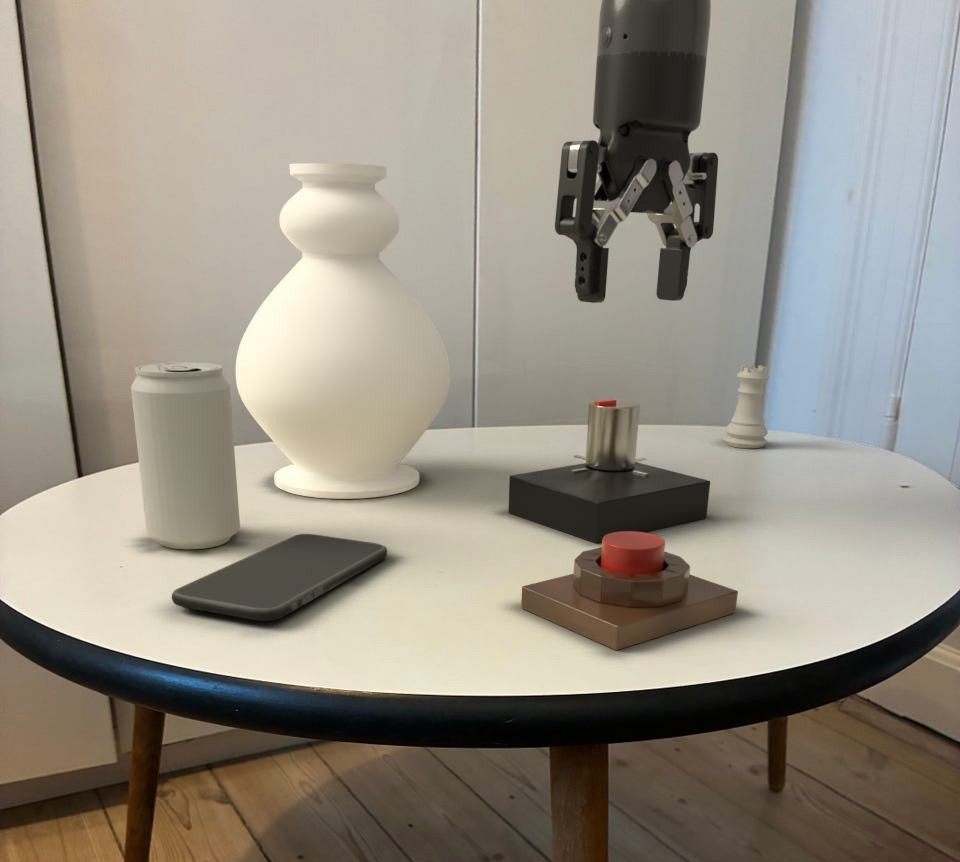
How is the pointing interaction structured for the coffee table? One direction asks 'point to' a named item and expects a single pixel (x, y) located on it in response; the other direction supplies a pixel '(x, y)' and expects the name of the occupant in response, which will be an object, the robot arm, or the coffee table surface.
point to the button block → (627, 601)
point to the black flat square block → (608, 499)
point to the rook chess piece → (748, 410)
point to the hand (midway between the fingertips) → (631, 300)
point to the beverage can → (186, 453)
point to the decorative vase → (342, 345)
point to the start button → (632, 552)
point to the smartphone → (280, 577)
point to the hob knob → (612, 434)
